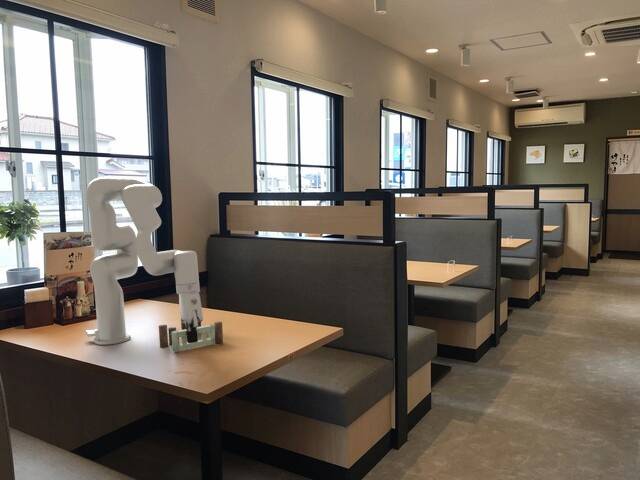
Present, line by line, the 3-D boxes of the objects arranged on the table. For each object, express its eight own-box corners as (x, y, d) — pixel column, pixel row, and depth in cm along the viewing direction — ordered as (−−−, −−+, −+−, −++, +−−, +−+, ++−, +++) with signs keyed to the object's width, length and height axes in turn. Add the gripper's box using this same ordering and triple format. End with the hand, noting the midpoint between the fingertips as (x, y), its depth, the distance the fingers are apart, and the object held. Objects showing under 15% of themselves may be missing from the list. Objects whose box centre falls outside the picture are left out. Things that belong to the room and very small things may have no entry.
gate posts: (159, 348, 174) (157, 326, 173) (161, 344, 178) (160, 323, 177) (222, 344, 176) (221, 323, 176) (223, 340, 180) (222, 320, 180)
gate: (173, 352, 167) (172, 333, 167) (171, 350, 169) (170, 331, 169) (215, 343, 175) (214, 325, 175) (212, 342, 177) (211, 324, 177)
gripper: (206, 289, 163) (211, 344, 164) (191, 284, 175) (195, 335, 177) (183, 292, 158) (188, 349, 160) (170, 287, 171) (174, 339, 173)
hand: (192, 342), depth 168 cm, fingers closed
